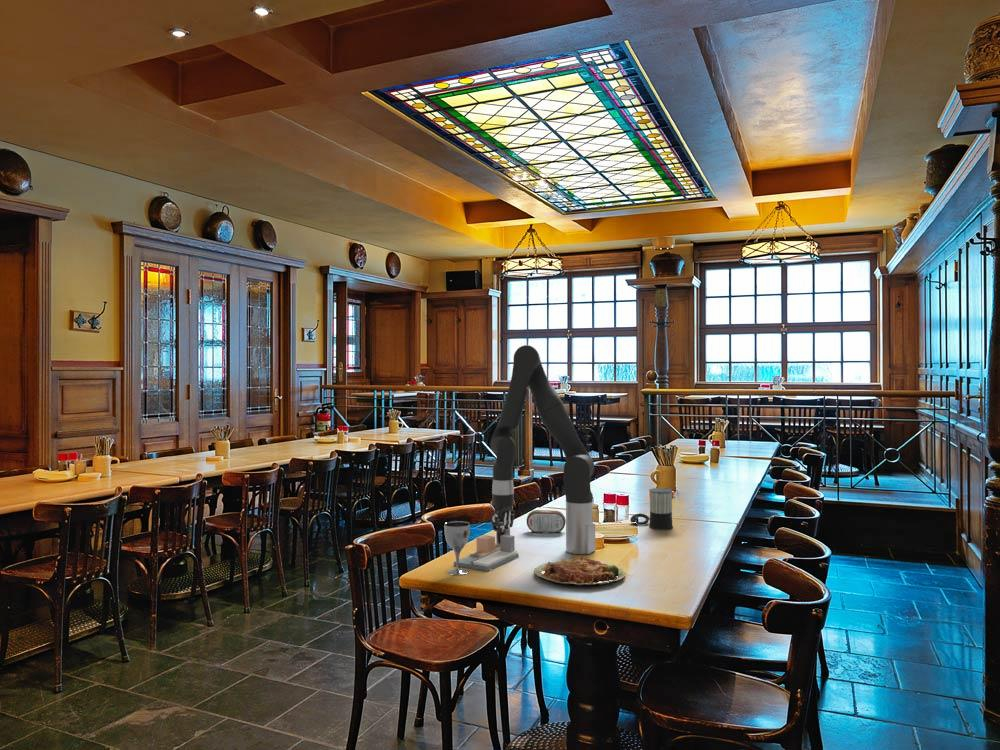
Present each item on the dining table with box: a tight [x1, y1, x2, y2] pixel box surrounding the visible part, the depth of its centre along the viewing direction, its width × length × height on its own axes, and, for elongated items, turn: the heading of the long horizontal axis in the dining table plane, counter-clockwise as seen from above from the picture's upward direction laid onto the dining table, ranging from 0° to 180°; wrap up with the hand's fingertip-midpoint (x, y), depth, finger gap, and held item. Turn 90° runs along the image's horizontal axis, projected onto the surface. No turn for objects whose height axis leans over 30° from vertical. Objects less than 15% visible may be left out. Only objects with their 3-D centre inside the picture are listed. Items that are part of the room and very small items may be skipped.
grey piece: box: [469, 528, 511, 557], centre depth 236 cm, size 6×18×6 cm, turn 149°
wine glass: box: [443, 520, 471, 576], centre depth 215 cm, size 8×8×15 cm
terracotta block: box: [476, 534, 496, 553], centre depth 233 cm, size 4×4×4 cm
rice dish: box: [533, 556, 626, 586], centre depth 211 cm, size 28×28×5 cm
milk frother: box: [629, 487, 674, 530], centre depth 277 cm, size 14×16×15 cm
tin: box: [526, 509, 566, 533], centre depth 267 cm, size 15×3×8 cm, turn 84°
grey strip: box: [473, 534, 517, 567], centre depth 226 cm, size 6×18×6 cm, turn 149°
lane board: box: [453, 549, 519, 572], centre depth 227 cm, size 13×19×2 cm
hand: (503, 541), depth 242 cm, fingers closed on grey piece, 2 cm apart
